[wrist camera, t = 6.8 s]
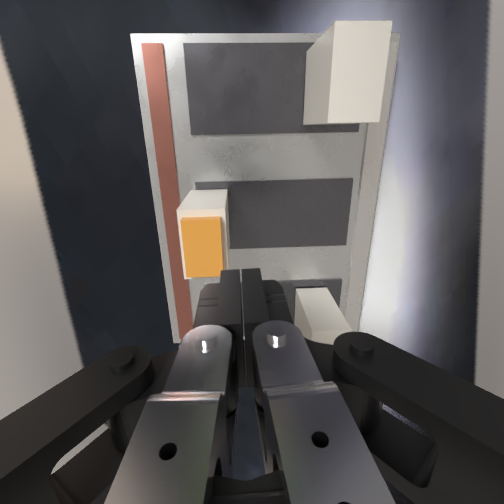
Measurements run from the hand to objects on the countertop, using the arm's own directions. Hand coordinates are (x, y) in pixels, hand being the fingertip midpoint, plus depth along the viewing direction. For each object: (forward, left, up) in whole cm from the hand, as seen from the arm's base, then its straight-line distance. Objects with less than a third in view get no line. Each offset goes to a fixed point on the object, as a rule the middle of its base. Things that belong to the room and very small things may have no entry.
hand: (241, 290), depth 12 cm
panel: (0, +2, -13) cm, 13 cm away
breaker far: (+8, +6, -11) cm, 14 cm away
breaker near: (-8, +6, -11) cm, 15 cm away
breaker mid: (0, -2, -11) cm, 11 cm away
